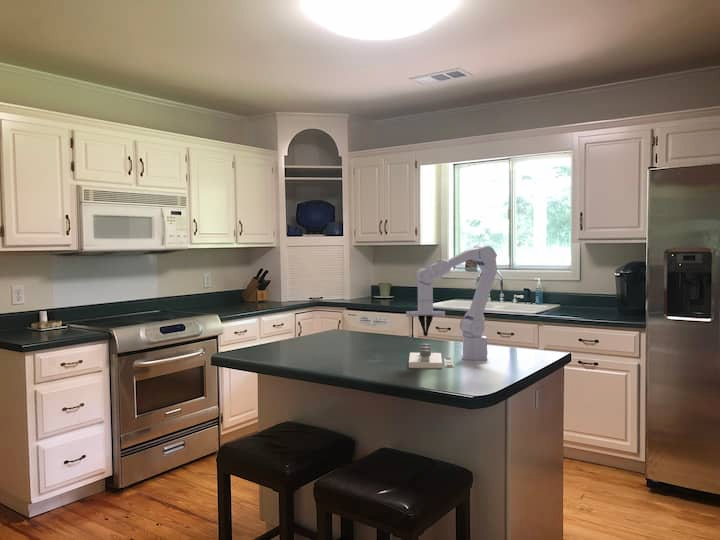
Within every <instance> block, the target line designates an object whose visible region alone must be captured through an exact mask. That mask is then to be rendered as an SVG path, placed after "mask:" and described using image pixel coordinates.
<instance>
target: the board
mask: <svg viewBox="0 0 720 540" xmlns="http://www.w3.org/2000/svg"><path fill="white" fill-rule="evenodd" d="M408 368H409V369H411V368H412V369H443V359H442V353H441V352H431V356H429V362H422V356H420V352H409V359H408Z"/></svg>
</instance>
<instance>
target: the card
mask: <svg viewBox="0 0 720 540" xmlns="http://www.w3.org/2000/svg"><path fill="white" fill-rule="evenodd" d="M443 362H444V367H445V368H455V365H454V361H453V358H452V357H444V358H443Z"/></svg>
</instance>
